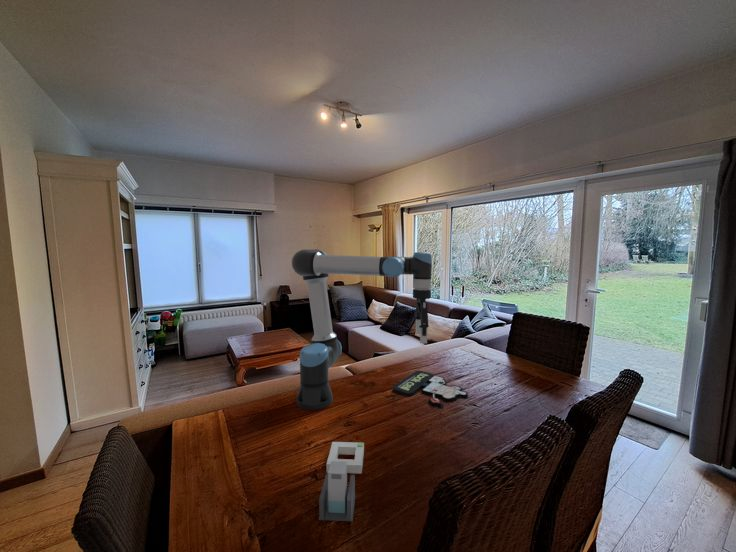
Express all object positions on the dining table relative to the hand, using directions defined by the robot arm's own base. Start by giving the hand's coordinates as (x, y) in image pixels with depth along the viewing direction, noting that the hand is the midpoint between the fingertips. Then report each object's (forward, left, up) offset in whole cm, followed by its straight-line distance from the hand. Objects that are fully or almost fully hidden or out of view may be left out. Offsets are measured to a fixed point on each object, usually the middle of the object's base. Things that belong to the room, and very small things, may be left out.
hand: (420, 338), depth 127 cm
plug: (-27, -57, -26) cm, 68 cm away
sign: (+7, +8, -27) cm, 29 cm away
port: (-27, -41, -26) cm, 56 cm away
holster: (-27, -57, -26) cm, 69 cm away
